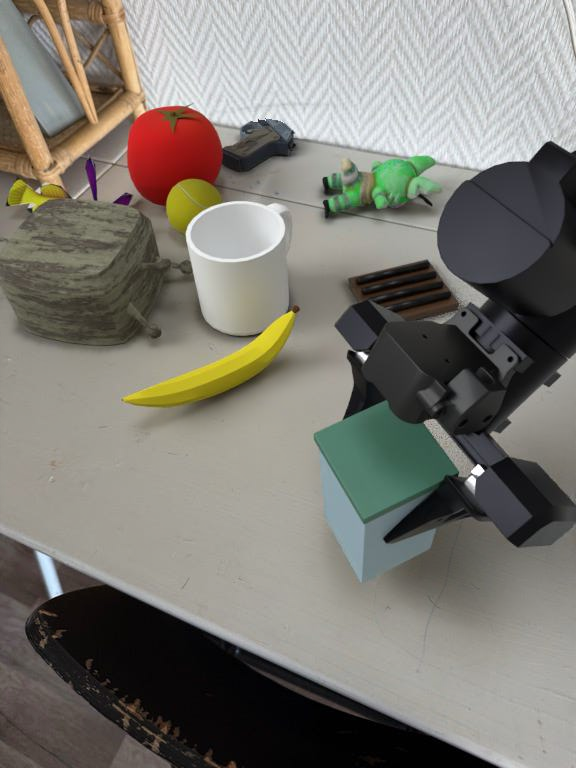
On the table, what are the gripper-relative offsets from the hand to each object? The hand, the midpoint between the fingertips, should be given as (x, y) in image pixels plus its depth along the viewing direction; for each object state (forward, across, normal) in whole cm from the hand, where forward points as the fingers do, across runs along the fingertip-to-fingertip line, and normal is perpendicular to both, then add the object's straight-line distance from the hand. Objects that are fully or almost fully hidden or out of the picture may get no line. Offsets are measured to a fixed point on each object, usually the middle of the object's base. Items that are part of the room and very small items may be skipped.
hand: (358, 498), depth 40 cm
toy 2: (-10, -44, +21) cm, 50 cm away
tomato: (+3, -56, +12) cm, 58 cm away
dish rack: (-8, -24, +22) cm, 33 cm away
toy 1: (+6, -59, 0) cm, 60 cm away
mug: (+3, -32, +11) cm, 34 cm away
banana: (+9, -22, +6) cm, 24 cm away
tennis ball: (+1, -43, +9) cm, 44 cm away
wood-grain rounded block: (+5, -34, +3) cm, 35 cm away
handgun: (-3, -64, +16) cm, 66 cm away
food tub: (+4, 0, +6) cm, 7 cm away
